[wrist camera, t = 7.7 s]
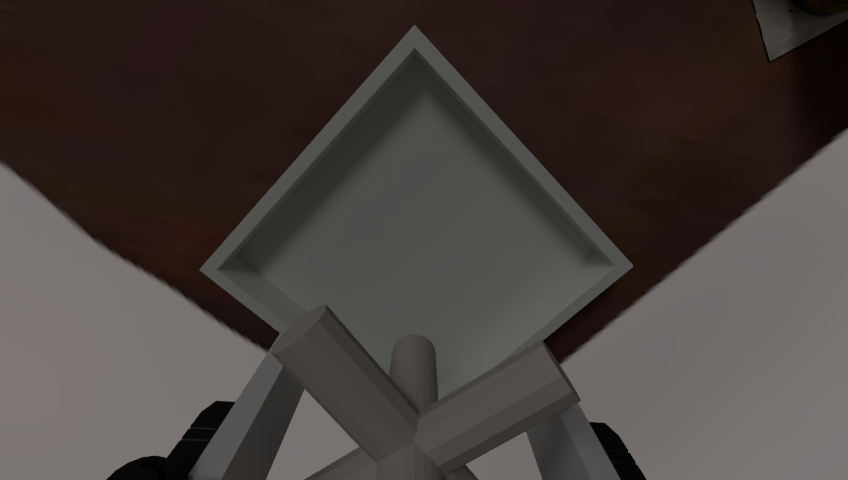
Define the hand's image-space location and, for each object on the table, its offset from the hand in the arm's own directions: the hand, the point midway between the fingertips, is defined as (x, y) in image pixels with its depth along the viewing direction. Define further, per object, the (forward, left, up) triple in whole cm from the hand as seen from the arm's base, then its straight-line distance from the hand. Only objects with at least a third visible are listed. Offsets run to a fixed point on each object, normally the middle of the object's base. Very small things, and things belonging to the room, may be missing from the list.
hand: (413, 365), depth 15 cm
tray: (0, 0, -14) cm, 14 cm away
